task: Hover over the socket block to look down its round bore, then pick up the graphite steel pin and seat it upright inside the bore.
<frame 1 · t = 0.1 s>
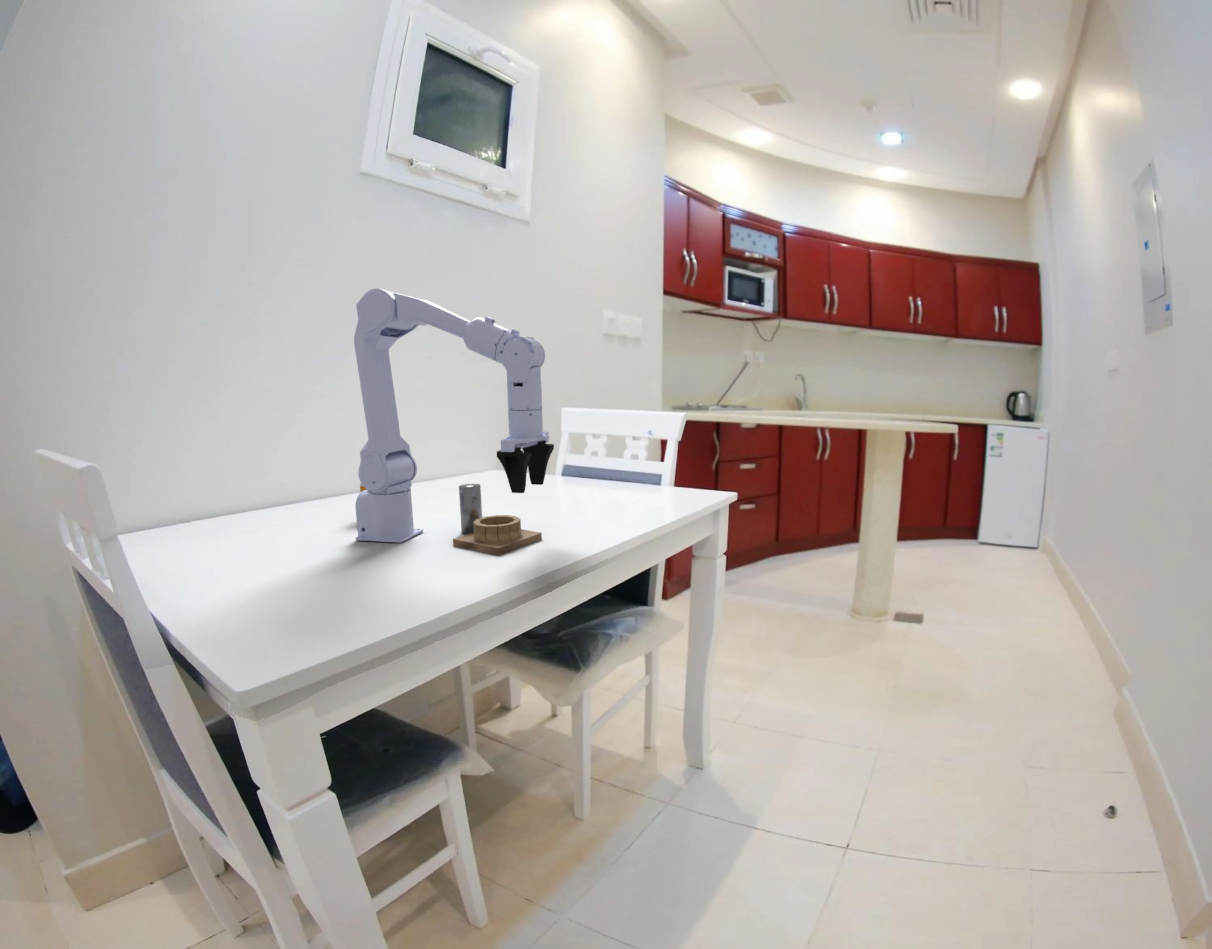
hand: (528, 488, 97), 10 cm above the table, fingers open, 7 cm apart
steel pin: (472, 531, 108), on the table
supplement bottle: (377, 519, 119), on the table
socket block: (498, 542, 100), on the table
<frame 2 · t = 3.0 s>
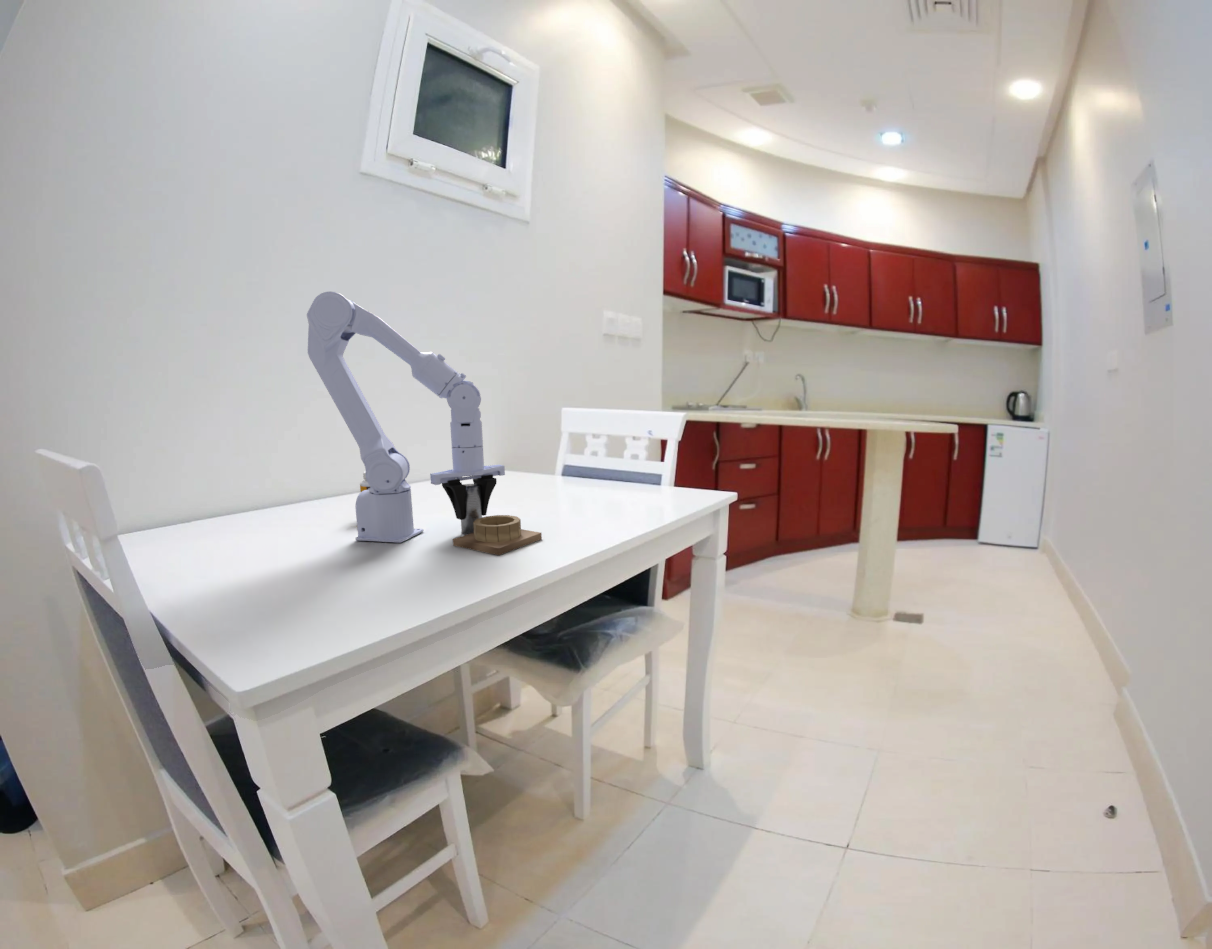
hand: (471, 516, 107), 3 cm above the table, fingers closed on steel pin, 4 cm apart
steel pin: (472, 531, 108), on the table, touching gripper
everything else where it was.
when the fingers open (5 cm above the table, at t = 7.2 s): steel pin stays where it is, resting on socket block.
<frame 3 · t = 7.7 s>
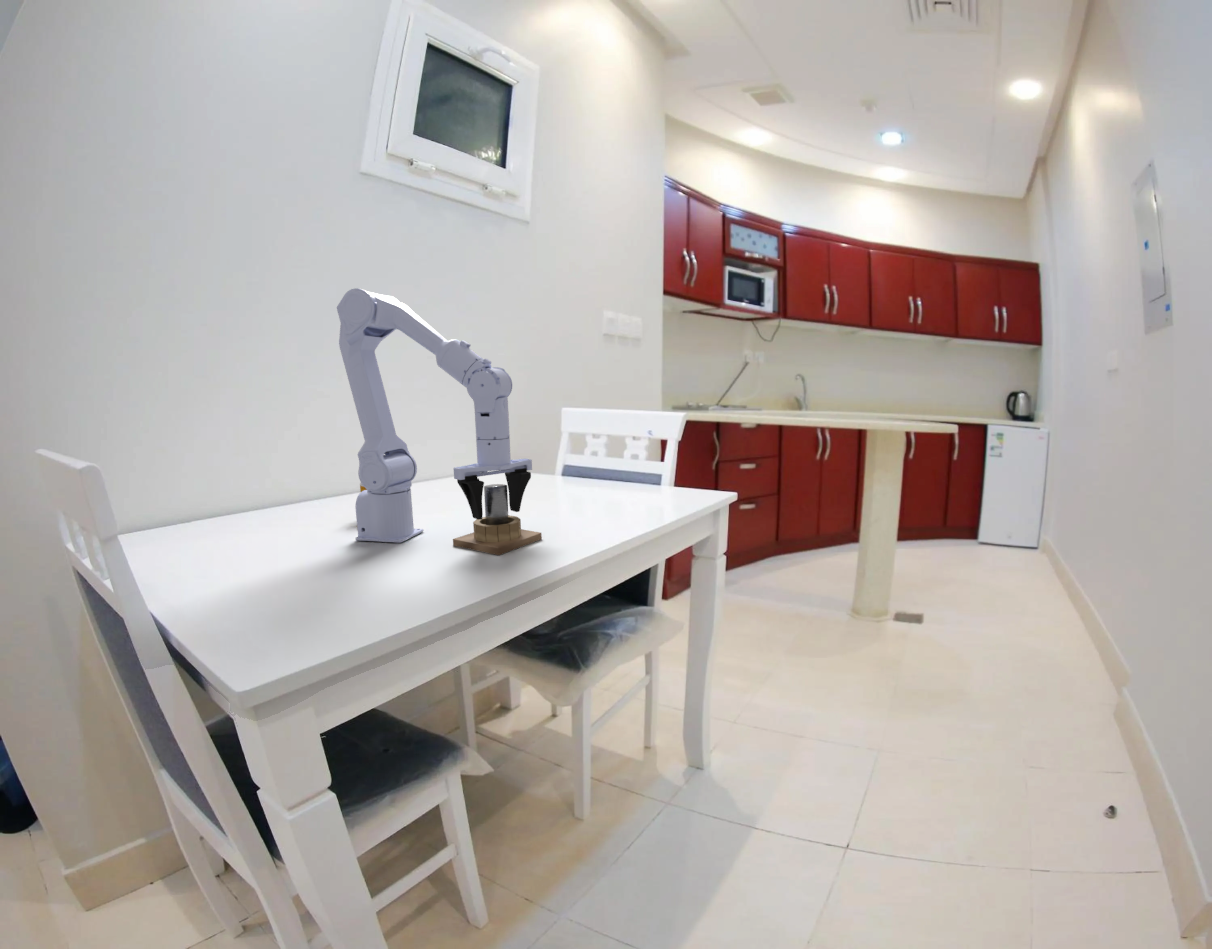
hand: (496, 514, 99), 5 cm above the table, fingers open, 7 cm apart
steel pin: (497, 535, 100), point 1 cm above the table, touching socket block
everything else where it was.
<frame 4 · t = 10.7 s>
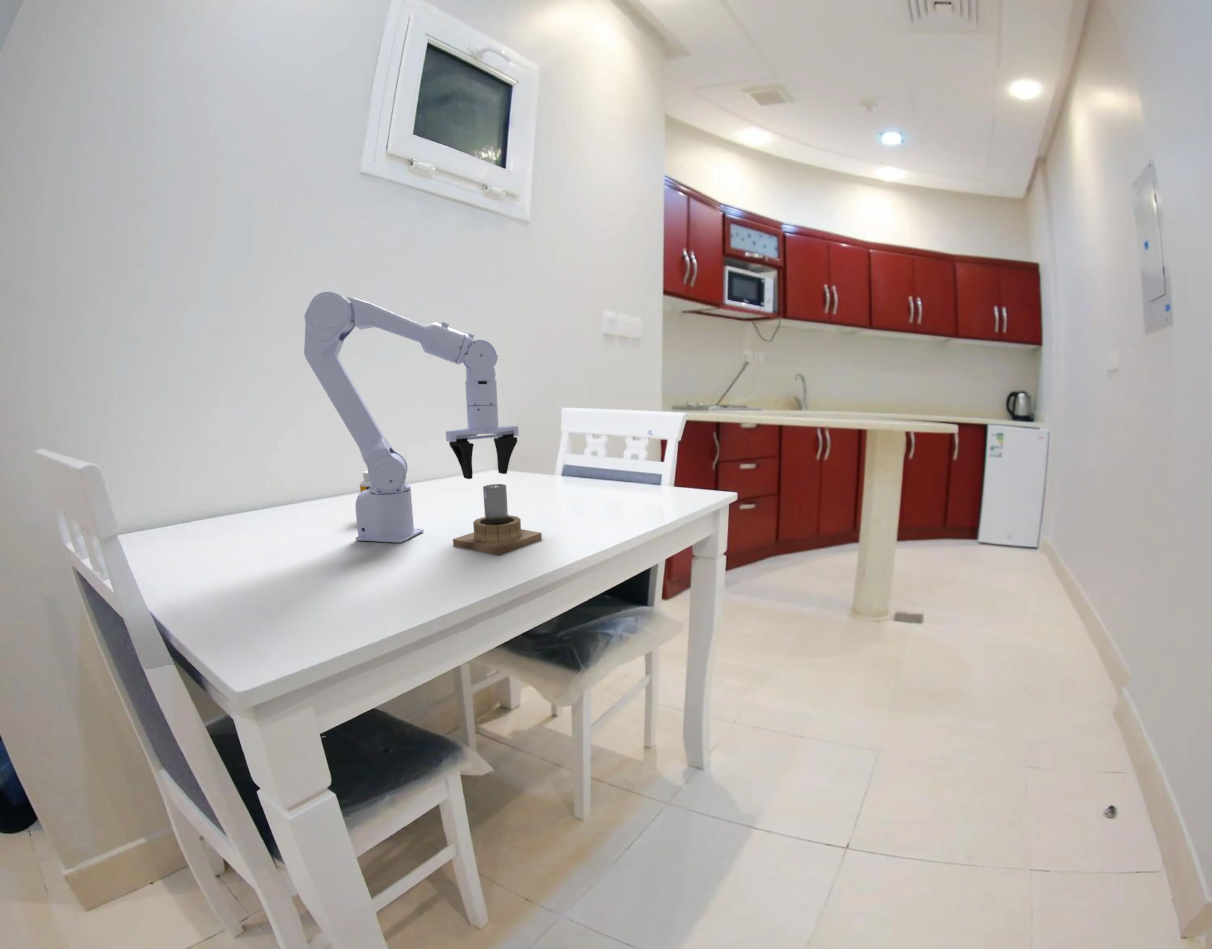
hand: (485, 475, 109), 10 cm above the table, fingers open, 7 cm apart
nothing on the table moved.
at the end: steel pin 0.0 cm off-centre on the socket block, point 1.2 cm above the socket block's base; steel pin tilted 1°; the gripper is holding nothing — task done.
